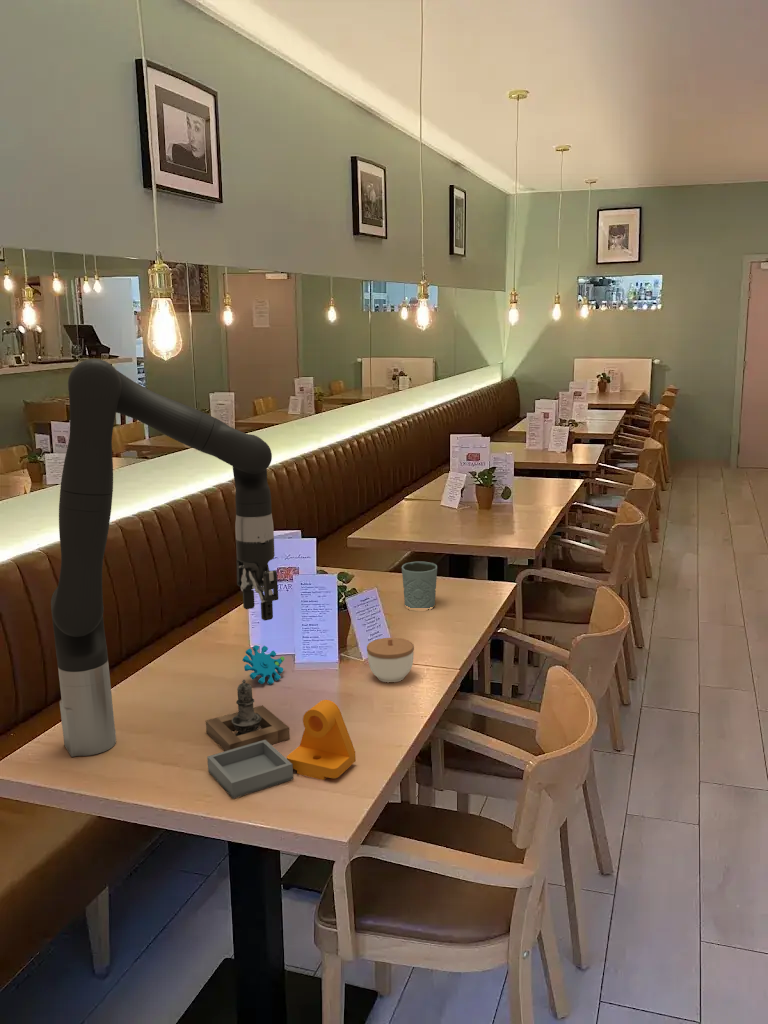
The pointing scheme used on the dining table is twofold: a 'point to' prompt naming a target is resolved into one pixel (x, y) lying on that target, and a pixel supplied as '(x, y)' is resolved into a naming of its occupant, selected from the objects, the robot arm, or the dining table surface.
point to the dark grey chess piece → (245, 711)
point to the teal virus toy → (263, 664)
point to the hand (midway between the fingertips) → (258, 613)
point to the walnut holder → (228, 740)
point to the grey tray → (249, 768)
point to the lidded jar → (390, 658)
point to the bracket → (323, 743)
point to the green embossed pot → (419, 584)
